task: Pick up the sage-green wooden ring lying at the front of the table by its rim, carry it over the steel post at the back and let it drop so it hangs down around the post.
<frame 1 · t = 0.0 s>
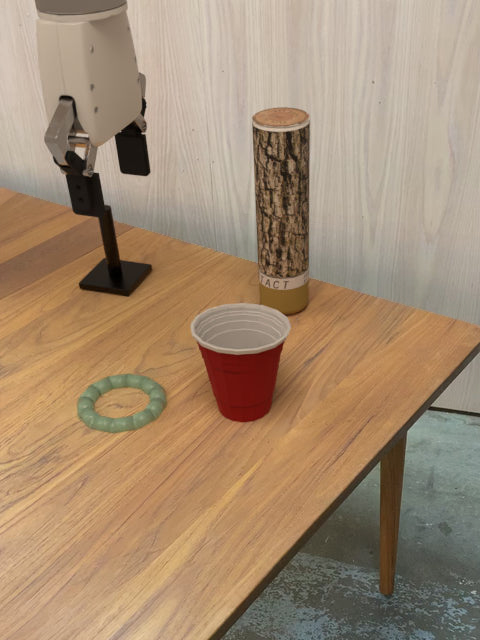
hand: (113, 193, 76), 25 cm above the table, tool pointing down, fingers open, 9 cm apart
ring stand: (116, 279, 115), on the table
ring: (122, 403, 91), point 1 cm above the table
paper tube: (284, 305, 109), on the table
plastic cup: (246, 412, 91), on the table
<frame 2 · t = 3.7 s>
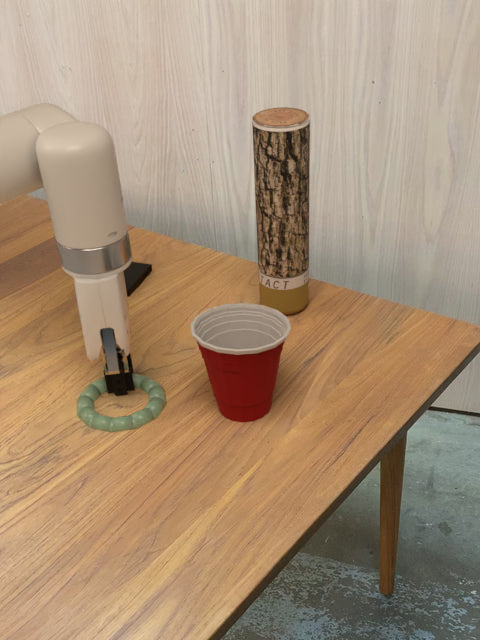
hand: (122, 388, 95), 0 cm above the table, tool pointing down, fingers closed on ring, 2 cm apart
ring: (121, 402, 92), point 1 cm above the table, touching gripper
everything else where it was.
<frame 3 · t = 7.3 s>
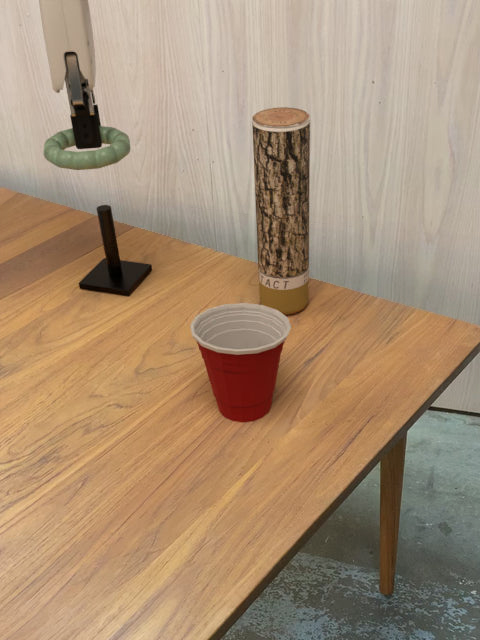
hand: (89, 141, 99), 21 cm above the table, tool pointing down, fingers closed on ring
ring: (87, 147, 95), point 22 cm above the table, touching gripper
everything else where it was.
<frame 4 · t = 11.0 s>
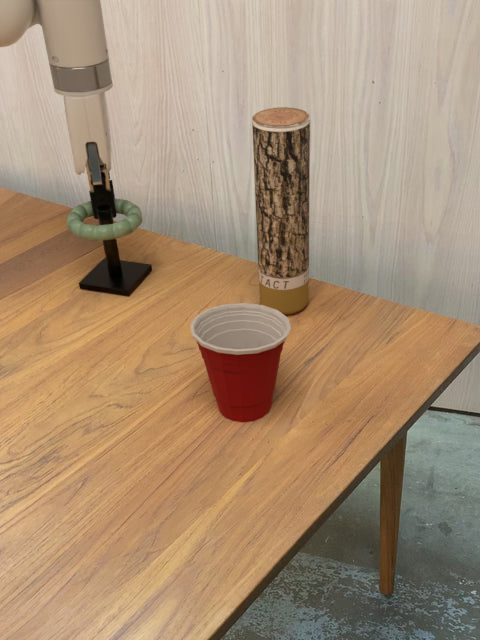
hand: (105, 212, 112), 9 cm above the table, tool pointing down, fingers closed on ring
ring: (104, 218, 109), point 9 cm above the table, touching gripper
everything else where it was.
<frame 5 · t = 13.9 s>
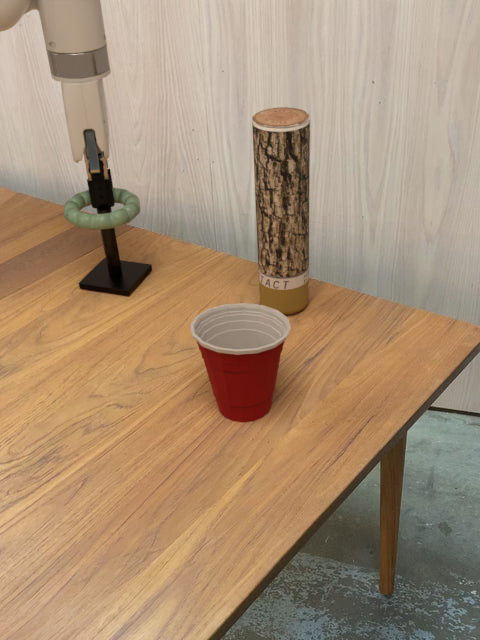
hand: (103, 201, 111), 10 cm above the table, tool pointing down, fingers closed on ring
ring: (102, 208, 108), point 11 cm above the table, touching gripper
everything else where it was.
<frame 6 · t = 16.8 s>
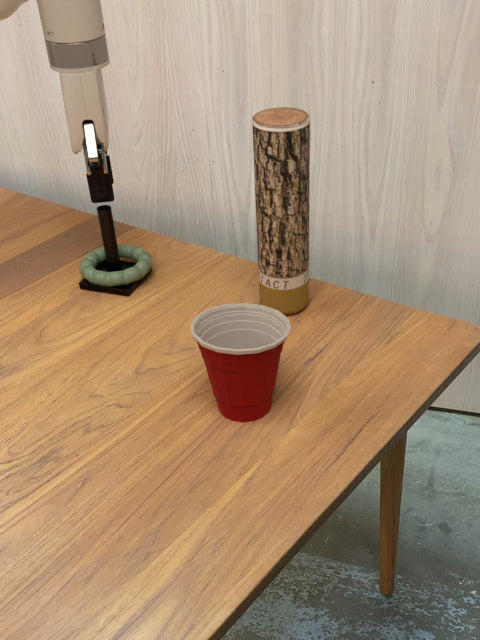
hand: (102, 191, 110), 12 cm above the table, tool pointing down, fingers open, 5 cm apart
ring: (115, 264, 114), point 2 cm above the table, touching ring stand
everything else where it was.
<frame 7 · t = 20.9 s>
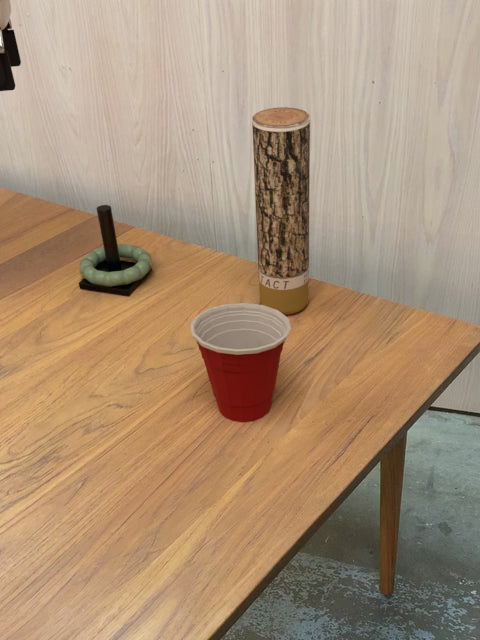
hand: (5, 77, 95), 28 cm above the table, tool pointing down, fingers open, 9 cm apart
nothing on the table moved.
at the end: ring 0.8 cm from the ring stand (horizontally); ring point 2.0 cm above the table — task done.
